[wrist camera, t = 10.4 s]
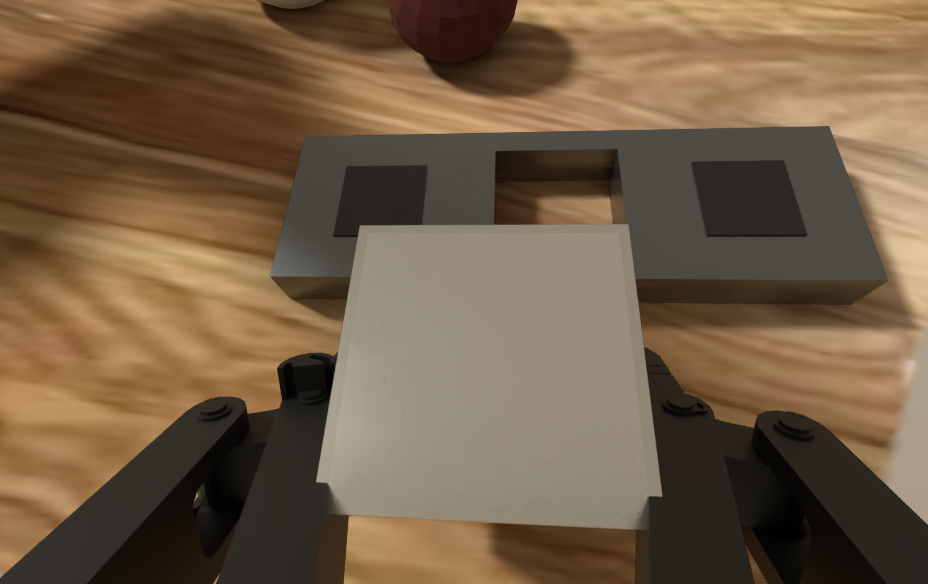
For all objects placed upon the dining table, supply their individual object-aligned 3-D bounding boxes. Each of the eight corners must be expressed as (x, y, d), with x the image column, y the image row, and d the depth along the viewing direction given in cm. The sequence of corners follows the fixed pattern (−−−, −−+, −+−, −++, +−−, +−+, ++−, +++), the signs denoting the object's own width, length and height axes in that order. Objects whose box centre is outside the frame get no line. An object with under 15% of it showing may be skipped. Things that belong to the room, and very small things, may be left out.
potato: (523, 79, 32) (527, -13, 26) (398, 90, 32) (377, 1, 27) (513, 8, 35) (515, -87, 30) (401, 19, 35) (382, -73, 30)
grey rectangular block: (424, 523, 18) (310, 512, 8) (435, 384, 21) (359, 225, 10) (569, 531, 18) (666, 531, 7) (563, 387, 20) (628, 224, 9)
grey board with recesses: (290, 298, 26) (268, 275, 23) (320, 166, 30) (304, 135, 27) (851, 304, 23) (890, 279, 21) (802, 159, 27) (830, 124, 25)
